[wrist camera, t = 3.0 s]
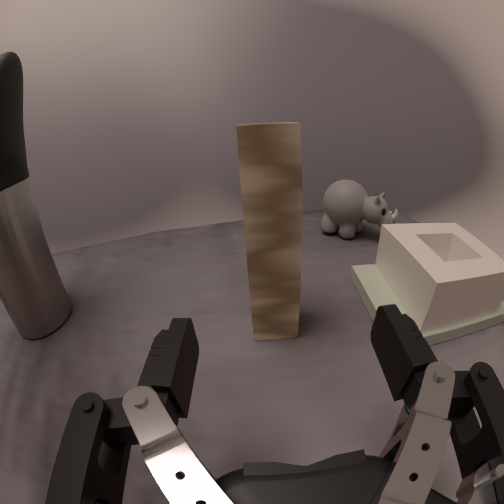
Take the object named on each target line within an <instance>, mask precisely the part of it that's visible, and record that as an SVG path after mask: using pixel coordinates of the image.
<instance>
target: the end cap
mask: <svg viewBox="0 0 504 504" xmlns="http://www.w3.org/2000/svg"><path fill="white" fill-rule="evenodd" d="M350 277H351V279H352V281H353V283H354V284H355V286H356V288H357V290H358V292H359V294H360V296H361V298H362V300H363V302H364V304H365V306H366V308H367V310H368V312H369V314H370V316H371V318H372V320H373V323H374V319H375V315H376V311H377V308H378V307H379V306H382V305H389V304H396V305H397V307H398V308H399V310H400V312H401V313H402V314H407V315H408V316H409V317H410V318H412V319H413V320H414V321H415V323H416V325H417V326H418V328H419V330H420V331H421V333H422V334H423V337H424V338H425V340H426V341H427V343H428V345H429V346H430V345H433V344H437V343H441V342H444V341H448V340H451V339H455V338H458V337H461V336H464V335H468V334H471V333H474V332H477V331H480V330H482V329H485V328H488V327H491V326H494V325H496V324H499V323H501V322H504V301H503V300H502V299H503V297H504V260H502V259H501V258H500V257H499V256H498V255H496V254H495V253H494V252H493V251H492V250H490V249H489V248H488V247H487V246H485V245H484V244H483V243H482V242H480V241H479V240H478V239H477V238H475V237H474V236H472V235H471V234H470V233H469V232H467V231H466V230H465V229H463V228H462V227H461V226H459V225H458V224H457V223H414V224H381V232H380V239H379V246H378V252H377V258H376V264H369V265H356V266H352V267H351V274H350Z"/></svg>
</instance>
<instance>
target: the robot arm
mask: <svg viewBox="0 0 504 504" xmlns="http://www.w3.org/2000/svg"><path fill="white" fill-rule="evenodd" d="M25 149H26V148H25V140H24V129H23V71H22V65H21V61H20V59H19V57H18V56H17V54H15V53H13V52H6V53H4V54H1V55H0V298H1V300H2V302H3V304H4V306H5V308H6V310H7V312H8V314H9V316H10V317H11V319H12V321H13V323H14V324H15V326H16V328H17V329H18V331H19V333H20V334H21V335H22V336H23V337H24V338H26V339H38V338H41V337H44V336H46V335H48V334H50V333H52V332H53V331H55V330H56V329H57V328H58V327H60V326H61V325H62V324H63V323H64V322H65V320H66V319H67V317H68V316H69V314H70V312H71V308H72V305H71V301H70V299H69V297H68V295H67V292H66V290H65V288H64V286H63V283H62V281H61V278H60V276H59V273H58V271H57V268H56V266H55V263H54V260H53V258H52V255H51V252H50V249H49V247H48V243H47V241H46V237H45V235H44V231H43V228H42V225H41V221H40V218H39V214H38V211H37V207H36V203H35V200H34V196H33V191H32V187H31V183H30V178H29V172H28V167H27V159H26V150H25ZM371 342H372V345H373V348H374V350H375V353H376V355H377V358H378V360H379V363H380V365H381V368H382V370H383V373H384V375H385V378H386V380H387V383H388V386H389V388H390V391H391V394H392V396H393V399H394V401H397V400H401V399H403V400H404V403H405V404H404V405H403V407H402V410H401V413H400V415H399V418H398V420H397V423H396V425H395V427H394V430H393V432H392V434H391V437H390V439H389V441H388V443H387V444H386V446H385V447H384V449H383V451H382V452H381V454H380V456H379V457H377V456H370V455H365V452H364V449H363V450H358V451H354V452H349V453H344V454H339V455H335V456H332V457H330V458H327V459H325V460H322V461H319V462H317V463H314V464H311V465H308V466H300V465H292V464H284V463H278V462H261V463H244V468H243V469H238V470H235V471H232V472H230V473H227V474H225V475H223V476H221V477H220V478H218V479H217V480H216V479H215V478H214V477H213V476H212V474H211V473H210V472H209V471H208V469H207V468H206V467H205V465H204V464H203V463H202V462H201V460H200V459H199V458H198V456H197V455H196V453H195V452H194V451H193V449H192V448H191V446H190V445H189V443H188V442H187V440H186V439H185V437H184V436H183V434H182V433H181V431H180V430H179V428H178V427H177V424H178V419H179V418H187V416H188V410H189V405H190V399H191V394H192V388H193V383H194V377H195V372H196V367H197V362H198V357H199V345H198V341H197V337H196V334H195V330H194V326H193V323H192V320H191V318H173V319H172V321H171V324H170V327H169V330H161V332H160V333H159V334H158V335H157V336H156V337H155V338H154V341H153V343H152V346H151V349H150V352H149V354H148V357H147V360H146V363H145V365H144V368H143V371H142V374H141V377H140V380H139V383H138V385H137V387H134V388H132V389H130V390H129V391H128V392H127V393H126V394H125V396H124V397H122V398H116V399H109V400H103V399H102V398H101V397H100V396H99V395H98V394H96V393H85V394H83V395H81V396H80V397H78V398H77V400H76V401H75V403H74V406H73V408H72V411H71V414H70V417H69V419H68V422H67V425H66V428H65V431H64V434H63V437H62V440H61V444H60V447H59V450H58V454H57V457H56V461H55V464H54V468H53V472H52V476H51V480H50V484H49V488H48V493H47V498H46V503H45V504H122V499H123V491H124V485H125V478H126V472H127V466H128V460H129V455H130V449H131V445H135V444H140V445H141V447H142V449H143V451H142V456H143V458H144V460H145V462H146V464H147V466H148V467H149V469H150V471H151V473H152V474H153V476H154V478H155V480H156V481H157V483H158V485H159V486H160V488H161V489H162V491H163V493H164V494H165V496H166V497H167V499H168V500H169V502H170V503H171V504H504V389H503V387H502V385H501V383H500V382H499V380H498V378H497V376H496V374H495V372H494V370H493V369H492V367H491V366H490V365H488V364H487V363H484V362H477V363H475V364H474V365H473V366H472V367H471V369H470V370H469V371H453V369H452V368H451V367H450V366H449V365H448V364H446V363H444V362H438V360H437V359H436V357H435V355H434V353H433V352H432V350H431V348H430V346H429V345H428V343H427V341H426V340H425V338H424V337H423V334H422V333H421V331H420V330H419V328H418V326H417V325H416V323H415V321H414V320H413V319H412V318H410V317H409V316H408V315H407V314H402V313H401V312H400V310H399V308H398V307H397V305H396V304H389V305H382V306H379V307H378V308H377V311H376V315H375V319H374V323H373V326H372V330H371ZM474 407H475V408H476V410H477V412H478V415H479V417H480V420H481V423H482V428H480V425H479V422H478V420H477V417H476V415H475V412H474V410H473V408H474ZM449 433H450V436H451V439H452V442H453V445H454V449H455V452H456V456H457V460H458V463H459V467H460V471H461V476H462V482H461V483H460V486H459V489H458V490H457V492H456V497H457V498H458V502H457V503H456V502H454V501H452V500H450V499H449V498H447V497H445V496H444V495H442V494H440V493H439V492H437V491H435V490H434V489H432V488H431V487H432V484H433V482H434V479H435V477H436V474H437V471H438V468H439V466H440V463H441V460H442V457H443V454H444V450H445V447H446V444H447V440H448V437H449Z"/></svg>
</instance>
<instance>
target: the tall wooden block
mask: <svg viewBox="0 0 504 504" xmlns="http://www.w3.org/2000/svg"><path fill="white" fill-rule="evenodd" d="M236 129H237V143H238V155H239V168H240V181H241V193H242V205H243V217H244V230H245V242H246V254H247V265H248V277H249V289H250V300H251V312H252V323H253V334H254V341H257V340H276V339H291V338H298V327H299V308H300V286H301V253H302V162H301V132H300V131H301V130H300V123H292V122H287V123H261V124H245V125H237V126H236Z"/></svg>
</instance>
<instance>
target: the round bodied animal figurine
mask: <svg viewBox="0 0 504 504" xmlns="http://www.w3.org/2000/svg"><path fill="white" fill-rule="evenodd" d="M384 197H385V192H383V193H382V194H381V195H380V196H373V197H368V195H367V193H366V191H365V189H364V188H363V187H362V186H361V185H360V184H358V183H356V182H354V181H351V180H340V181H337V182H335V183H333V184H332V185H331V186H330V187H329V188H328V189H327V191H326V193H325V195H324V201H323V203H324V209H325V214H324V216H323V219H322V223H321V229H322V231H324V232H326V233H333V232H336V231H337V228H339V235H340V236H341V237H342V238H345V239H351V238H353V237H354V236H355V232H360V231H361V229H362V220H363V219H366V220H367V221H368V222H369V223H371V224H378V225H379V226H380V228H381V224H395V220H396V219H397V216H398V212H397V209H396V210H395V213H394V214H392V211H389V210H388V204H387V202H386V201H385V200H384Z"/></svg>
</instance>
